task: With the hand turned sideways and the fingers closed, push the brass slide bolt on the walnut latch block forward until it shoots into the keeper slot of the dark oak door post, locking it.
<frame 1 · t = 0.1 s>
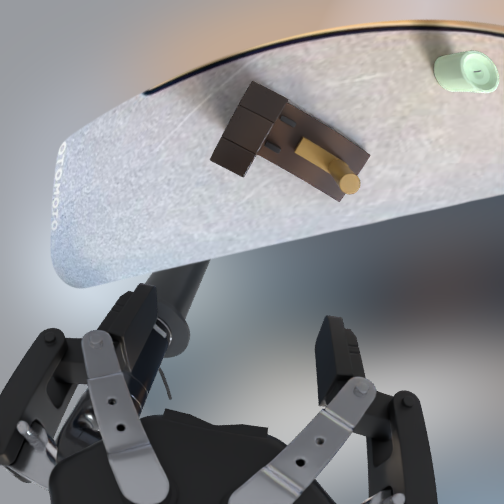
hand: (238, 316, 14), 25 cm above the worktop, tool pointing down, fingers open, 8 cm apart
bolt: (325, 163, 29), point 6 cm above the worktop, slide at 0.0 cm
latch: (311, 150, 34), on the worktop
candle: (448, 73, 26), on the worktop
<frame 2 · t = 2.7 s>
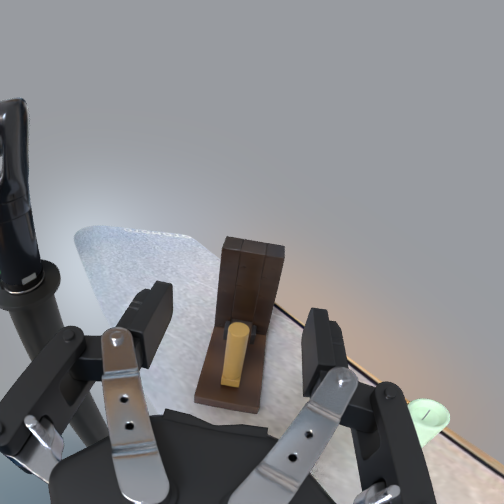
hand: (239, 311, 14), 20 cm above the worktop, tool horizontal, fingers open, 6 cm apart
bolt: (237, 343, 31), point 6 cm above the worktop, slide at 0.0 cm
latch: (233, 369, 35), on the worktop
candle: (393, 447, 26), on the worktop
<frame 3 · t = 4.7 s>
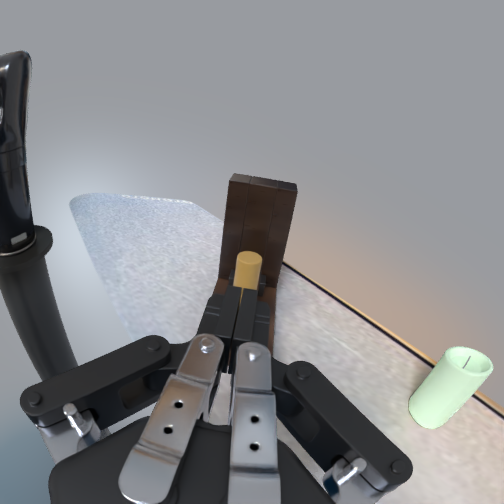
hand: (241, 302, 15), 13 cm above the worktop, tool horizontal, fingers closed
bolt: (245, 284, 28), point 6 cm above the worktop, slide at 0.0 cm
latch: (239, 323, 31), on the worktop
candle: (426, 410, 23), on the worktop
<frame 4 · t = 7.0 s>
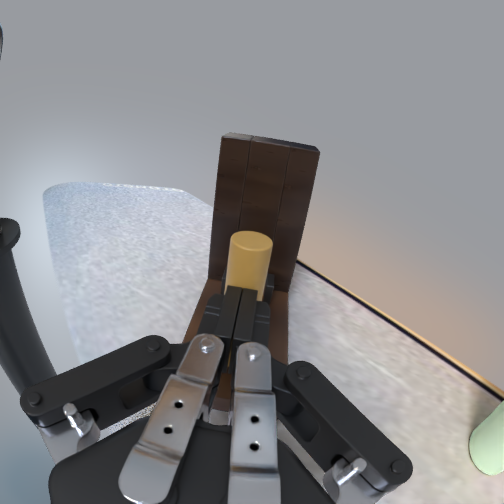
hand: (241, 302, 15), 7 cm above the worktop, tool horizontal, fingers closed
bolt: (245, 285, 18), point 6 cm above the worktop, slide at 0.1 cm, touching gripper
latch: (236, 343, 21), on the worktop
candle: (488, 450, 12), on the worktop
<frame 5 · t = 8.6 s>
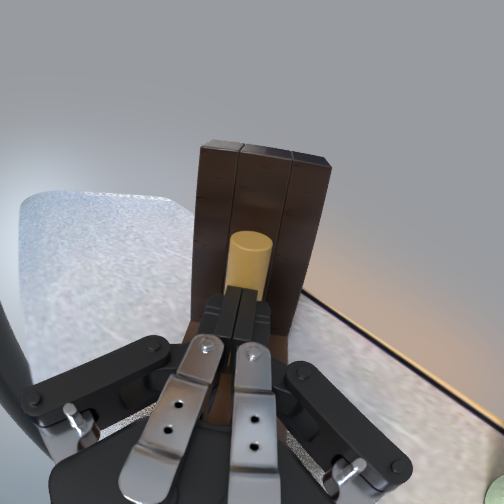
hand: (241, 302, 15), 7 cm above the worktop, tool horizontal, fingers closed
bolt: (245, 285, 18), point 6 cm above the worktop, slide at 5.7 cm, touching gripper
latch: (225, 405, 16), on the worktop
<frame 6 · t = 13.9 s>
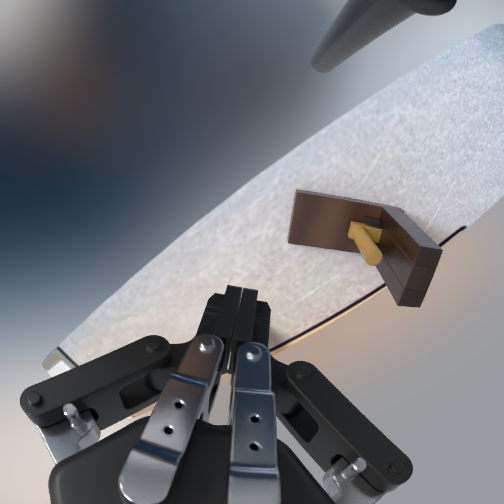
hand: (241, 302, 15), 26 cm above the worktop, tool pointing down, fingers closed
bolt: (379, 244, 34), point 6 cm above the worktop, slide at 5.5 cm
latch: (335, 221, 39), on the worktop
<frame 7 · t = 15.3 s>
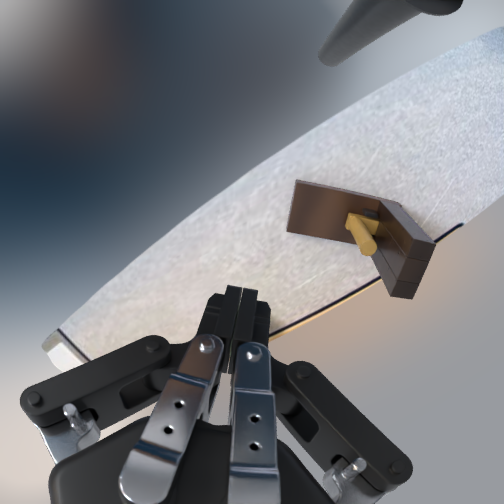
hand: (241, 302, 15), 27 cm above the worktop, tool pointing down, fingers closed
bolt: (375, 236, 35), point 6 cm above the worktop, slide at 5.5 cm
latch: (333, 212, 40), on the worktop
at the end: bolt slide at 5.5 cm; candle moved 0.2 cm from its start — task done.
